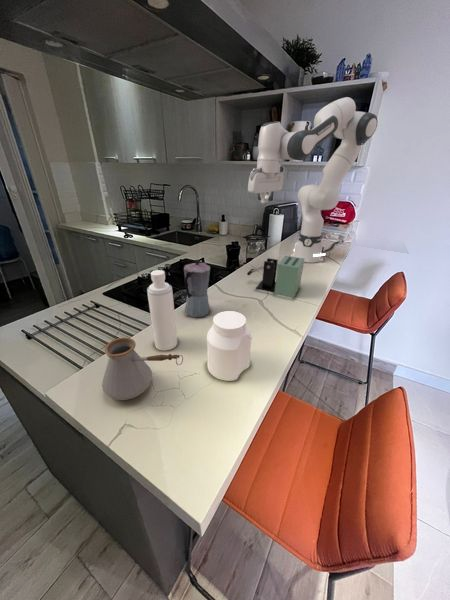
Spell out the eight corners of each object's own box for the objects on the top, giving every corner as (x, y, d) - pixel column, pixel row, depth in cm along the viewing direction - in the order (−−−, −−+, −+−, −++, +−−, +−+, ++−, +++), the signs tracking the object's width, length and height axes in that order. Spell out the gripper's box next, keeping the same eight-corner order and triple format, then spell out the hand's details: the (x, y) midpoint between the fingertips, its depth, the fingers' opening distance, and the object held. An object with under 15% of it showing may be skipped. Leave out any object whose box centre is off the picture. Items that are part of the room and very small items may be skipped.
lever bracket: (255, 290, 111) (258, 262, 105) (263, 282, 119) (265, 255, 113) (273, 294, 108) (277, 266, 102) (280, 285, 116) (283, 258, 110)
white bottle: (182, 341, 79) (175, 265, 67) (166, 353, 74) (156, 273, 62) (166, 334, 82) (157, 260, 70) (150, 345, 77) (138, 267, 65)
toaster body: (274, 295, 107) (278, 264, 100) (281, 285, 116) (285, 255, 110) (293, 300, 104) (298, 267, 97) (299, 288, 113) (304, 258, 107)
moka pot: (216, 304, 100) (216, 255, 90) (202, 326, 87) (200, 271, 77) (193, 301, 102) (190, 252, 92) (176, 321, 89) (171, 267, 79)
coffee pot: (93, 397, 60) (76, 347, 53) (126, 365, 70) (116, 319, 62) (172, 428, 54) (165, 376, 46) (197, 388, 63) (194, 340, 56)
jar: (227, 347, 77) (228, 304, 70) (254, 361, 72) (258, 316, 65) (201, 369, 69) (199, 322, 62) (230, 386, 64) (231, 337, 57)
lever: (248, 276, 113) (246, 271, 112) (252, 272, 116) (250, 268, 116) (272, 268, 106) (270, 262, 105) (276, 264, 110) (274, 259, 109)
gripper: (257, 168, 99) (254, 206, 106) (287, 168, 112) (283, 201, 118) (245, 168, 103) (243, 204, 110) (275, 167, 116) (272, 200, 122)
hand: (264, 203), depth 114 cm, fingers closed
